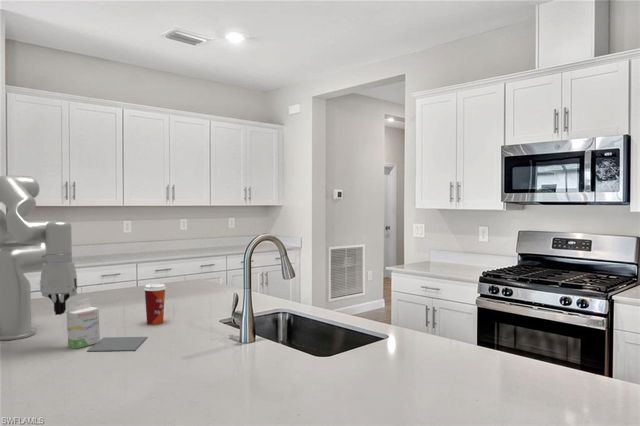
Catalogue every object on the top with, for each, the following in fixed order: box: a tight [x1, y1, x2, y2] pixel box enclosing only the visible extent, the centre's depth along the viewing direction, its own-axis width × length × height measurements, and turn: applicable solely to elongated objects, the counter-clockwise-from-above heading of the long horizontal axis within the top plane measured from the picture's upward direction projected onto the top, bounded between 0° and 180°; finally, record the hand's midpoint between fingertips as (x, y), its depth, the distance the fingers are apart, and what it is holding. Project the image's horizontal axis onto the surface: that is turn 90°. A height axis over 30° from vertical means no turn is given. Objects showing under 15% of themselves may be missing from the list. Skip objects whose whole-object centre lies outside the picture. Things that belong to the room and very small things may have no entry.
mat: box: [86, 336, 148, 353], centre depth 155 cm, size 15×14×1 cm
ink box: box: [66, 297, 101, 350], centre depth 154 cm, size 9×5×15 cm, turn 143°
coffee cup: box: [143, 283, 167, 326], centre depth 183 cm, size 8×8×15 cm
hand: (60, 313), depth 153 cm, fingers closed
